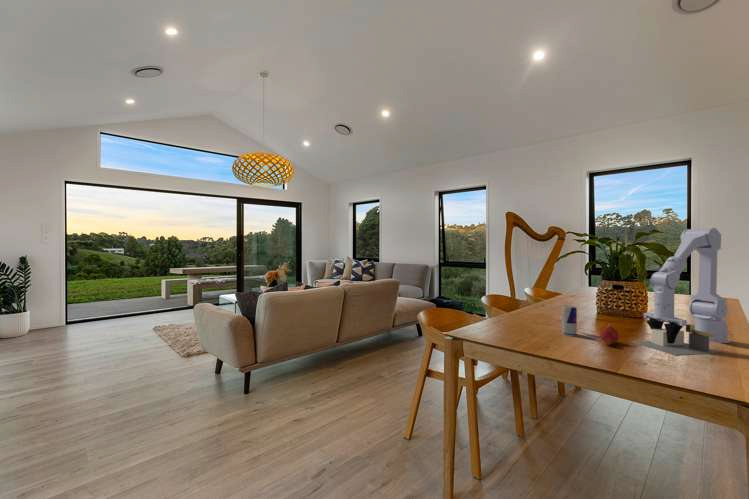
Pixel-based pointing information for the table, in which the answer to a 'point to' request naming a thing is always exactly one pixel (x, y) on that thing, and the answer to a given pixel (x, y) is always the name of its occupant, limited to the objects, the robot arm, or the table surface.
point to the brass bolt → (697, 331)
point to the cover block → (665, 337)
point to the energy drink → (569, 320)
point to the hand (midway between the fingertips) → (664, 341)
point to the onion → (609, 335)
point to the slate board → (683, 346)
